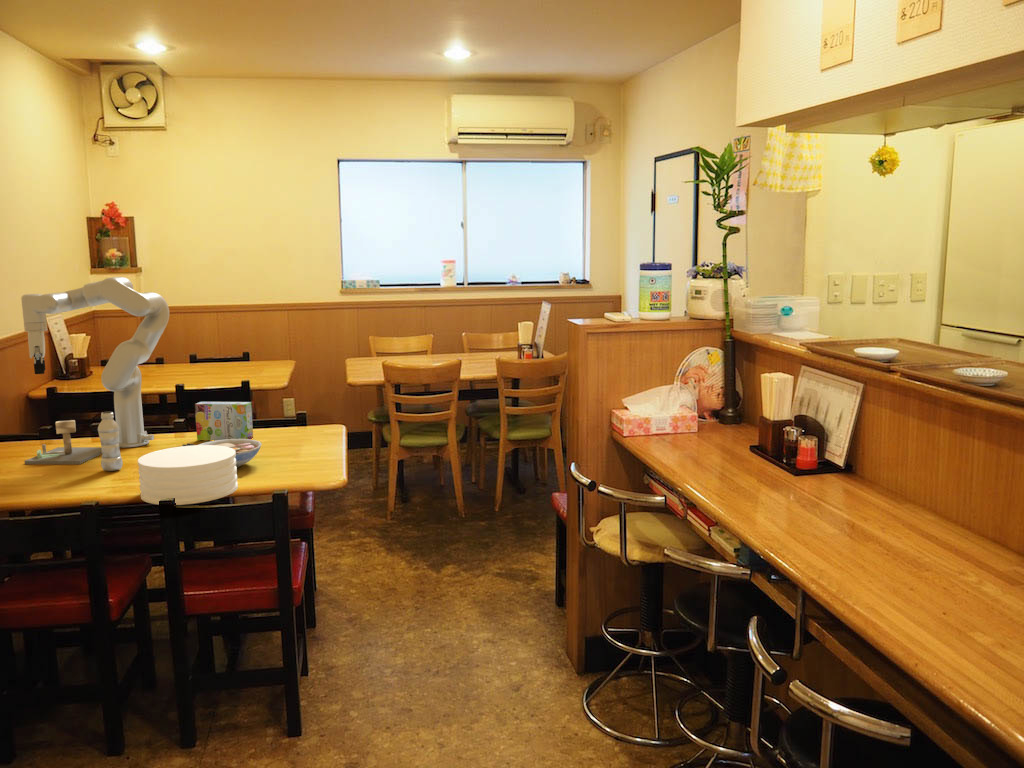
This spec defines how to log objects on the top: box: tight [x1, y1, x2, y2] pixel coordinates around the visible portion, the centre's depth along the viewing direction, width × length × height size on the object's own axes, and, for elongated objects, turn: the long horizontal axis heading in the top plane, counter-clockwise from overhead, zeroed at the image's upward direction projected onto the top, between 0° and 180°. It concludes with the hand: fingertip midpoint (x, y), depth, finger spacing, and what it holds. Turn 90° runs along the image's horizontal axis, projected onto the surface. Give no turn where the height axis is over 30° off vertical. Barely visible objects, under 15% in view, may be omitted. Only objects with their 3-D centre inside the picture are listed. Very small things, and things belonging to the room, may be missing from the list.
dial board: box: [23, 446, 102, 465], centre depth 303 cm, size 20×20×3 cm
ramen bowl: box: [181, 439, 262, 468], centre depth 287 cm, size 25×23×8 cm
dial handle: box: [41, 419, 77, 455], centre depth 302 cm, size 11×2×12 cm, turn 113°
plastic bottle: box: [97, 411, 124, 472], centre depth 283 cm, size 6×7×20 cm
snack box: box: [194, 401, 254, 441], centre depth 326 cm, size 21×6×15 cm, turn 82°
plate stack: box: [137, 444, 239, 506], centre depth 258 cm, size 28×28×12 cm
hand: (40, 372), depth 318 cm, fingers open, 9 cm apart
